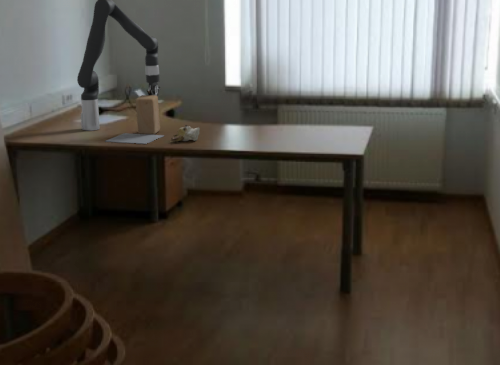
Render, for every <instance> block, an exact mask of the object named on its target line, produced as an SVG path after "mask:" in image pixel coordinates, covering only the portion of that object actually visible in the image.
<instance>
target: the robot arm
mask: <svg viewBox="0 0 500 365" xmlns="http://www.w3.org/2000/svg"><path fill="white" fill-rule="evenodd" d="M109 16H110V17H111V18H113V19H114V20H115V21H116V22H117V23H118V24H119V25H120V27H121V28H122V29H123V30H124V31H125V33H127V34H128V35H129V36H131V37H132V38H133V39H135V40H136V41H137V42H138V43H139V45H140V46H142V47H143V49H145V50H146V51H145V53H146V55H145V56H144V57H145V58H144V61H145V62H144V63H145V82H146V83H147V84H148V89H146V93H147V94H148V95H156V96H158V97H159V94H160V90H161V87H160V86H159V83H160V81H161V78H160V76H161V75H160V67H159V66H160V65H159V56H158V55H159V42H158V39H157V38H156V37H154V36H150V35H149V34H148V33H146V32H145V30H144V28H142V27H141V26H140V25H139V24H137V23H136V22H135V21H134V20H133V19H131V18H130V17H129V16H128V15H127V14H125V12H123V10H122V9H121V8H120V7H119V6H118V5H117V3H116V2H115V1H114V0H96V1H95V3H94V10H93V16H92V23H91V26H90V29H89V34H88V37H87V41H86V46H85V51H84V54H83V59H82V63H81V66H80V69H79V72H78V74H77V85H78V86H79V87H80V88H82V89H83V92H82V93H81V94H80V99H81V101H80V102H81V112H80V122H81V123H80V125H81V130H83V131H96V130H100V126H101V125H100V114H99V112H100V110H99V92H100V91H99V90H100V88H99V86H100V85H99V84H100V83H99V76H98V73H97V72H96V71H94V68H95V65H96V63H97V62H98V60H99V59H100V57H101V54H102V53H103V49H104V47H105V42H106V25H107V21H108V18H109Z"/></svg>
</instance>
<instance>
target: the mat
mask: <svg viewBox="0 0 500 365" xmlns="http://www.w3.org/2000/svg"><path fill="white" fill-rule="evenodd" d="M163 137H165V135H163V134H139V133H128V132H127V133H126V132H125V133H122V134H119V135H117V136H114V137H111V138H109V139H107V140H104V142H105V143H119V144H123V143H124V144H134V143H136V144H137V145H147V143H148V144H150V143H152V142H154V140H155V141H156V139H157V140H159V139H161V138H163ZM158 138H159V139H158Z"/></svg>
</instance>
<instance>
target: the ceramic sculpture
mask: <svg viewBox="0 0 500 365" xmlns="http://www.w3.org/2000/svg"><path fill="white" fill-rule="evenodd" d="M184 125H185V126H184V127H180V128H179V129H178V130H177V134H172V136H173V137H171V138H170V139H171V140H173V141H176V142H181V141H182V142H188V141H191V140H192V141H193V142H196V141H197V140H198V137H199V135H200V126H198V127H196V128H193V127H191V126H190V125H187V124H184Z"/></svg>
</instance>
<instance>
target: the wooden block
mask: <svg viewBox="0 0 500 365" xmlns="http://www.w3.org/2000/svg"><path fill="white" fill-rule="evenodd" d="M135 108H136V110H135V111H136V122H137V124H136V125H137V134H148V135H157V133H158V132H159V131H160V130H161V125H160V124H161V123H160V110H159V108H160V107H159V95H158V96H156V95H145V94H143V95H140V96H138V97H137V98H135Z"/></svg>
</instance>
